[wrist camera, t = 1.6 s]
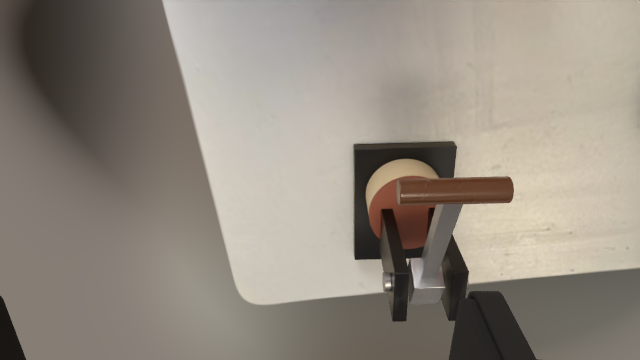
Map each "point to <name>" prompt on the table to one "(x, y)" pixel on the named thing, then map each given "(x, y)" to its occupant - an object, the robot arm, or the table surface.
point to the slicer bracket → (390, 243)
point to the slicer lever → (444, 223)
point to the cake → (385, 197)
